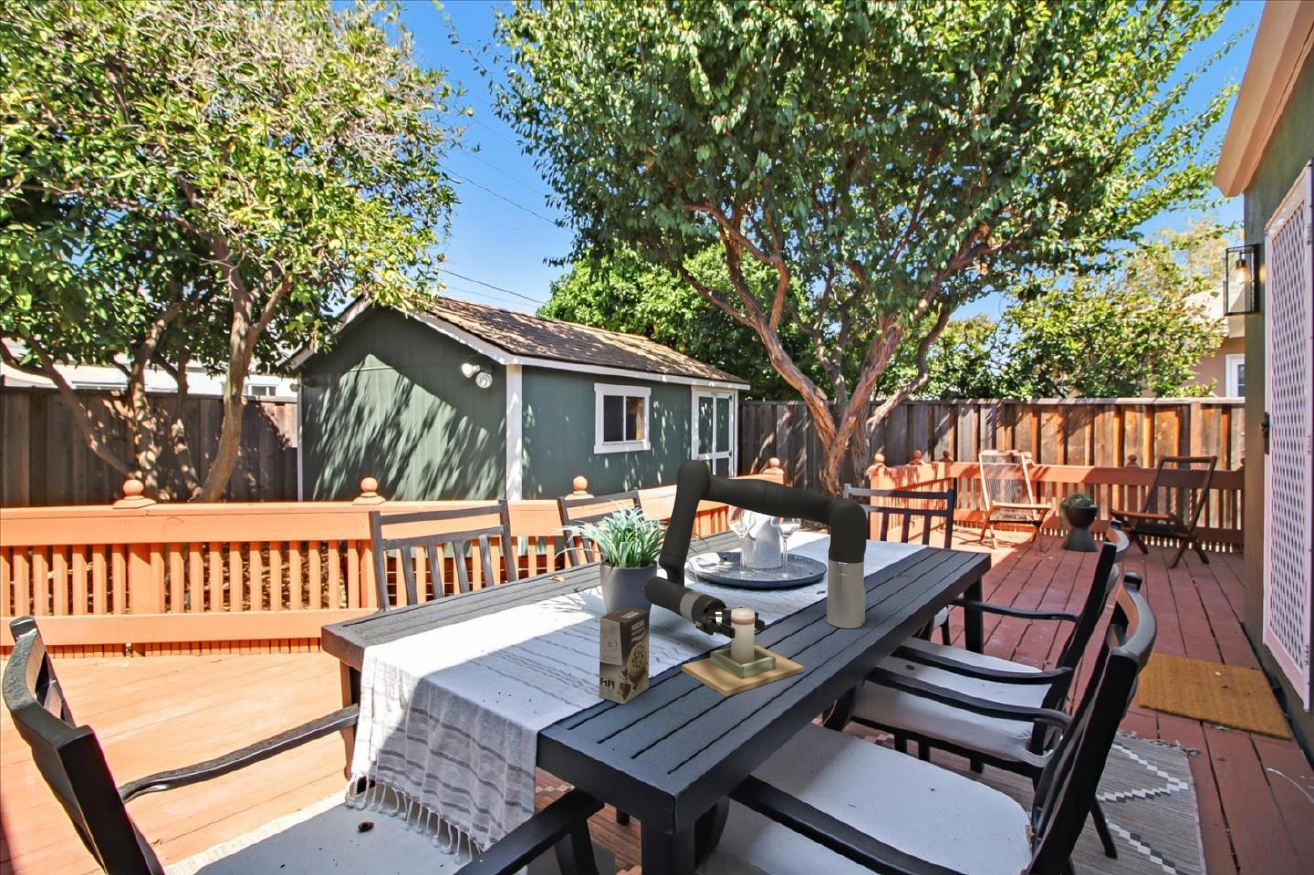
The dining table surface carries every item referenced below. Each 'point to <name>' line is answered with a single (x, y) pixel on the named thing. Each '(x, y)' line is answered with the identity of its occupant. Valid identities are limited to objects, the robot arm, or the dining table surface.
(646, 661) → the coffee box
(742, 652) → the cream lidded bottle
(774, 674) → the end holder
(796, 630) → the dining table surface
